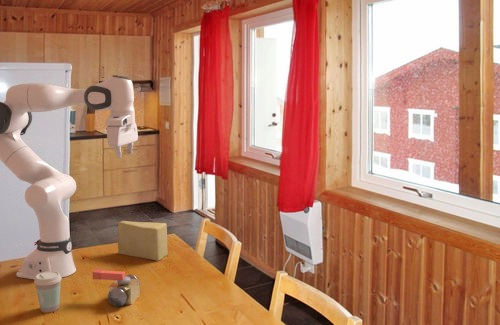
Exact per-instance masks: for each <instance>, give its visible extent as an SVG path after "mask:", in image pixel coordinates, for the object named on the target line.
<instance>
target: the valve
mask: <svg viewBox="0 0 500 325" xmlns="http://www.w3.org/2000/svg"><path fill="white" fill-rule="evenodd" d="M125 277H130V283H129V284H125V285H120V284H118V282H117V280H113V282H112V283H111V284H110V285H109V286H108V295H107V301H108V303H109V304H110V305H111V306H112V307H115V308H120V307H123V306H124V305H127V306H128V305H129V306H130V305H133V304H134V303H135V301H136V300H137V299H138V298H139V297H140V295H141V290H140V286H141V282H140V279H139V278H138V276H136V275H133V274H128V275H125Z"/></svg>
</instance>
